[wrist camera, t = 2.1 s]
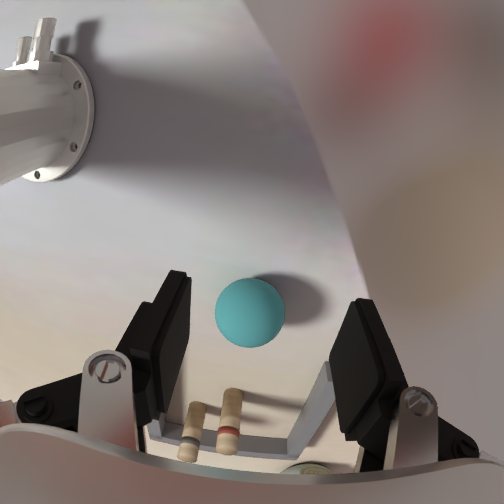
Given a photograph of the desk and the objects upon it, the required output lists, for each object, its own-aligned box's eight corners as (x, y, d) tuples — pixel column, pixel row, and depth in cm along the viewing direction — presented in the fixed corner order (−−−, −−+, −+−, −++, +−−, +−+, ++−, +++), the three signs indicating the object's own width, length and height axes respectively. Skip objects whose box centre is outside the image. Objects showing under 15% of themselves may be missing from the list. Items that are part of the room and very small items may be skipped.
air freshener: (269, 471, 48) (267, 514, 39) (290, 457, 45) (290, 505, 36) (315, 477, 50) (317, 517, 41) (339, 463, 46) (343, 507, 37)
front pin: (224, 386, 36) (215, 444, 28) (244, 389, 36) (238, 448, 28) (223, 397, 37) (214, 453, 29) (242, 400, 37) (236, 456, 29)
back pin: (189, 400, 37) (176, 452, 30) (207, 403, 38) (197, 456, 30) (189, 409, 39) (177, 460, 31) (206, 412, 39) (196, 464, 31)
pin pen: (140, 333, 32) (131, 351, 30) (340, 362, 33) (344, 382, 30) (154, 424, 42) (150, 439, 39) (296, 444, 42) (296, 460, 39)
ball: (223, 260, 27) (212, 299, 22) (289, 271, 28) (293, 311, 22) (217, 313, 30) (207, 355, 25) (277, 322, 30) (277, 365, 25)
